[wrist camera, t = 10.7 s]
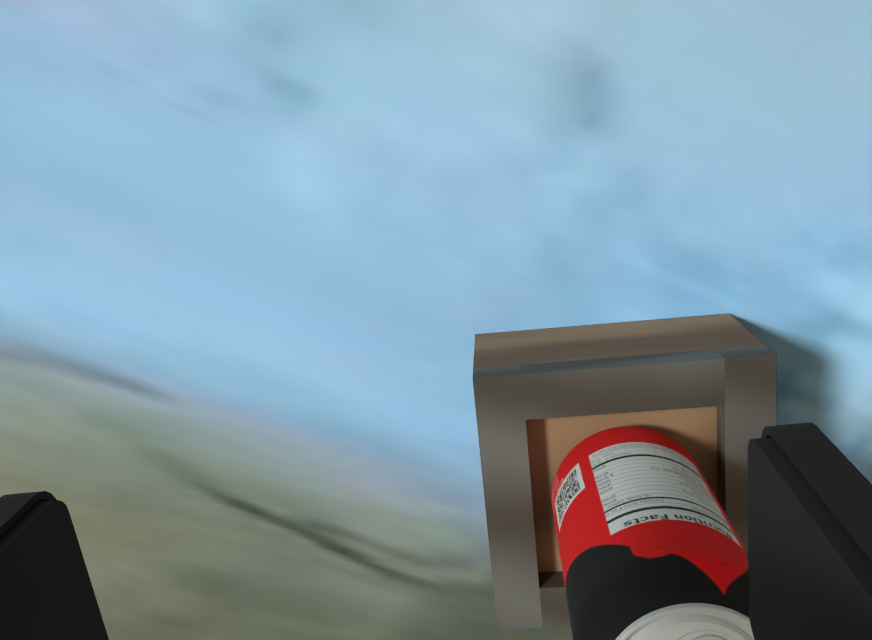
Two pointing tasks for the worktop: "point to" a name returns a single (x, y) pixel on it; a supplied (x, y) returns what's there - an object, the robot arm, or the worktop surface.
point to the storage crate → (603, 409)
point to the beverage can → (646, 543)
